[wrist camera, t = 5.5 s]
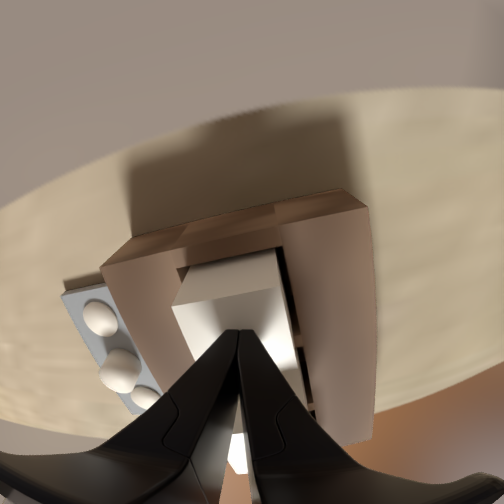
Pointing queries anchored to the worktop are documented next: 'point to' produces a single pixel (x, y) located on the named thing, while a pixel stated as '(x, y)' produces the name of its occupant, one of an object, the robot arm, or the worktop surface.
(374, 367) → the board
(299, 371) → the button middle
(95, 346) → the card
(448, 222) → the worktop surface
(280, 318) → the button
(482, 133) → the worktop surface
